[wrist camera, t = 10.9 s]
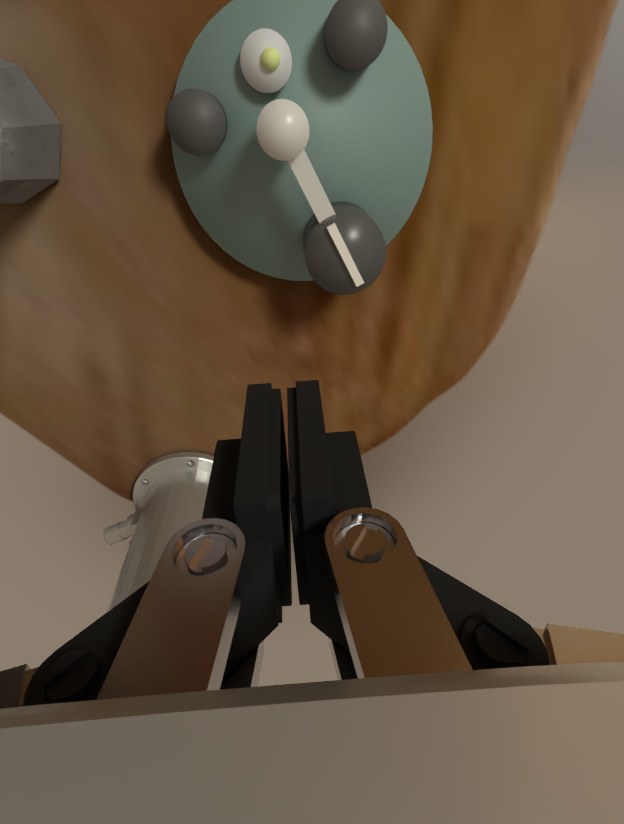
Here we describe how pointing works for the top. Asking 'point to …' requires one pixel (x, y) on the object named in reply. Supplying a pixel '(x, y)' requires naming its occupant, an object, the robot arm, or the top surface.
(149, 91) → the top surface
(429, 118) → the instrument base
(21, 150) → the coffeepot
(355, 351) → the top surface
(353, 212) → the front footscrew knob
